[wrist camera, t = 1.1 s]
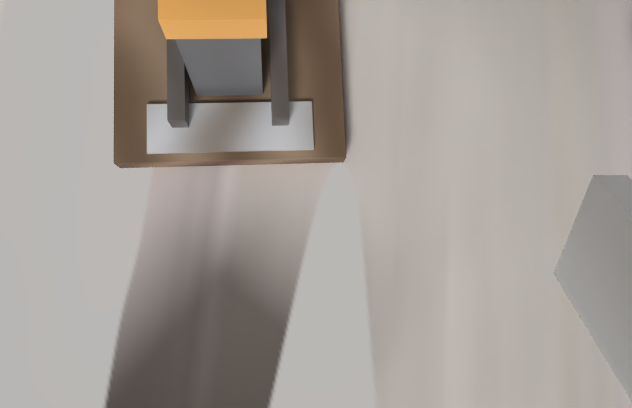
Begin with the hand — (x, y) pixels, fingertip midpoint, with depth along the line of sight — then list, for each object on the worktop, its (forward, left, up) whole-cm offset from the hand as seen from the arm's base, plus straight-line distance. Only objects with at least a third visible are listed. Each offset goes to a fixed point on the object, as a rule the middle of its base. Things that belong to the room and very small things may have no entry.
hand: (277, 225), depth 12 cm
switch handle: (+2, -13, -23) cm, 26 cm away
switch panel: (+2, -20, -25) cm, 32 cm away
